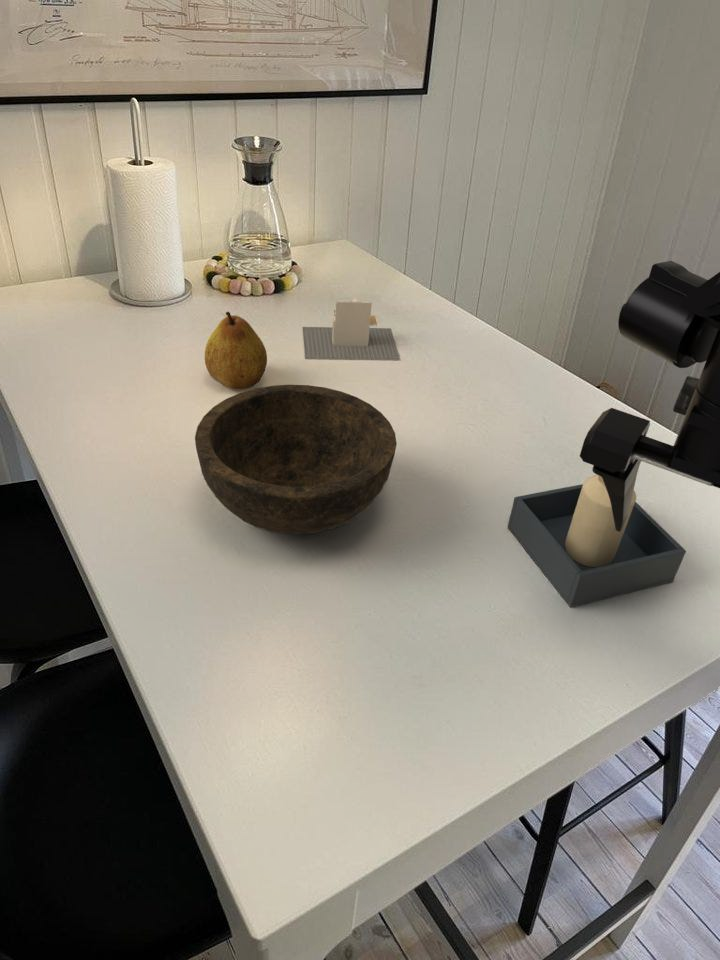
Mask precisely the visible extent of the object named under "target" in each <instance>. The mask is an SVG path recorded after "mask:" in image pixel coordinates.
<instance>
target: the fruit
mask: <svg viewBox="0 0 720 960" xmlns="http://www.w3.org/2000/svg"><path fill="white" fill-rule="evenodd" d="M205 344H206V346H205V350H204V364H205V367H206V370H207V372H208V373H209V375H210V377H211V378H212V379H214V381H216V382H218V383H220V384H222V385H223V386H224V387H226V388H227V389H231V390H238V391H239V390H245V389H250V388H253V387H255V386H256V385H257V384H259V382H260V381H262V378H263V376H264V375H265V372H266V369H267V364H268V354H267V349H266V348H265V347H266V346H265V344H264V342H263V341H262V339H261V338H260V336H259V335H258V334H257V333H256V331H255V330H254V328H253V327H252V326H251V324H250V323H249V322H248V321H247V320H246V319H244V318H243V317H241V316H238V315H235V314H234V315H231V312H230V311H226V312H225V317H224V318H223V319H222V320H220V321H219V323H218V324H217V326H216V327H215V329H214V330H213V331H212V332H211V334H210V336H209V338H208V340H207V341H206V343H205Z"/></svg>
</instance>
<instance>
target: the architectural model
mask: <svg viewBox="0 0 720 960" xmlns="http://www.w3.org/2000/svg"><path fill="white" fill-rule="evenodd" d="M335 303H336V304H335V310H334V311H333V317H332V327H331V326H302V338H303V339H302V340H303V350H304V351H303V352H304V359H305V360H353V361H354V360H357V361H360V360H365V361H367V360H368V361H370V360H371V361H372V360H373V361H401V357H400V354H399V350H398V347H397V344H396V341H395V340H396V339H395V337H394V333H393V331H392V328H391V327H390V328H389V327H388V328H387V327H378V322H377V318H376V315H372V313H371V312H372V304H373V303H372V302H371V301H359V299H358V297H354V299H352V300H351V301H335Z"/></svg>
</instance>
